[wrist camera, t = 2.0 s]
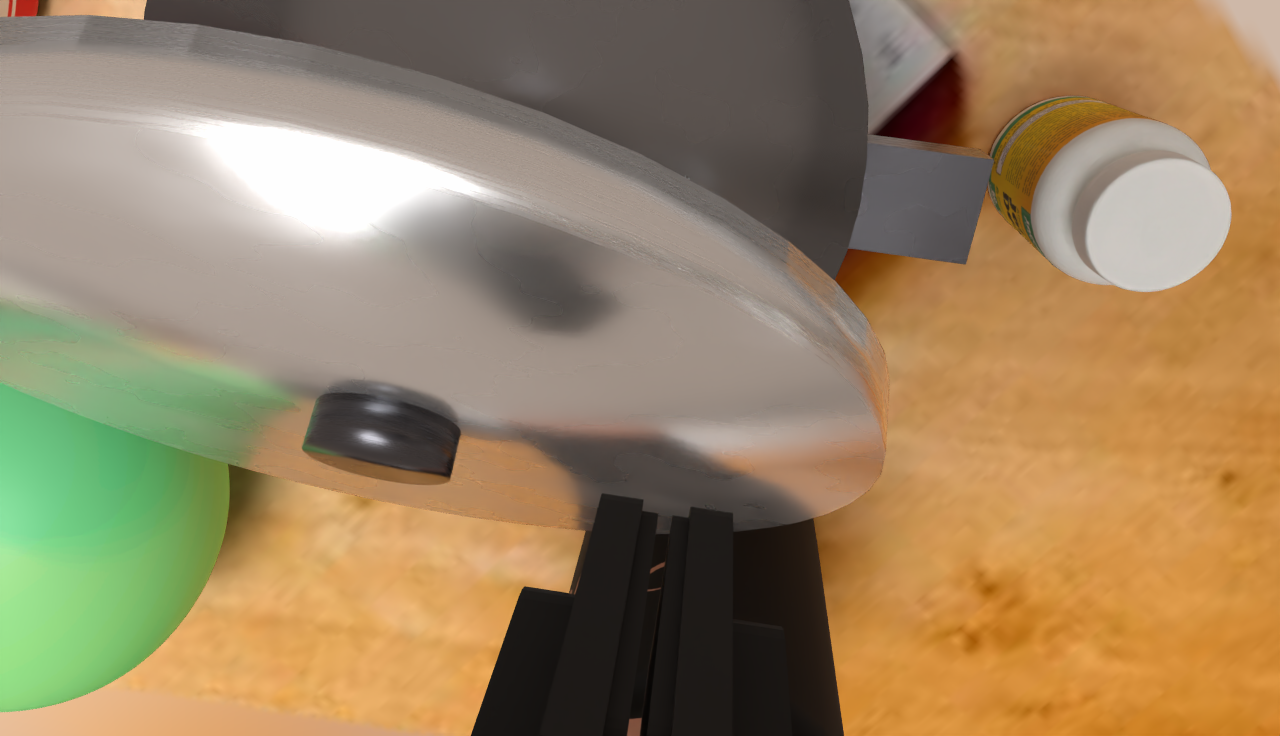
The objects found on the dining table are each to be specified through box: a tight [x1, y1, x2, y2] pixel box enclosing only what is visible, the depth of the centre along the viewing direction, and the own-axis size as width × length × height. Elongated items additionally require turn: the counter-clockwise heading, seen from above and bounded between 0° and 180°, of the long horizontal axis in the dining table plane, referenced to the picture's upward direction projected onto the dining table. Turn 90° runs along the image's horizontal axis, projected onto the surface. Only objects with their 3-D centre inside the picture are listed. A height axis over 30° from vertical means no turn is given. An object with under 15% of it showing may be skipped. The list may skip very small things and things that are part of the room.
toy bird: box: [0, 383, 230, 712], centre depth 37 cm, size 18×17×15 cm
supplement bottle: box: [988, 96, 1231, 292], centre depth 31 cm, size 5×5×10 cm
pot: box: [144, 0, 994, 280], centre depth 30 cm, size 27×20×12 cm
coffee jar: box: [569, 518, 844, 736], centre depth 35 cm, size 11×11×18 cm
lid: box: [0, 15, 890, 534], centre depth 19 cm, size 20×20×2 cm
